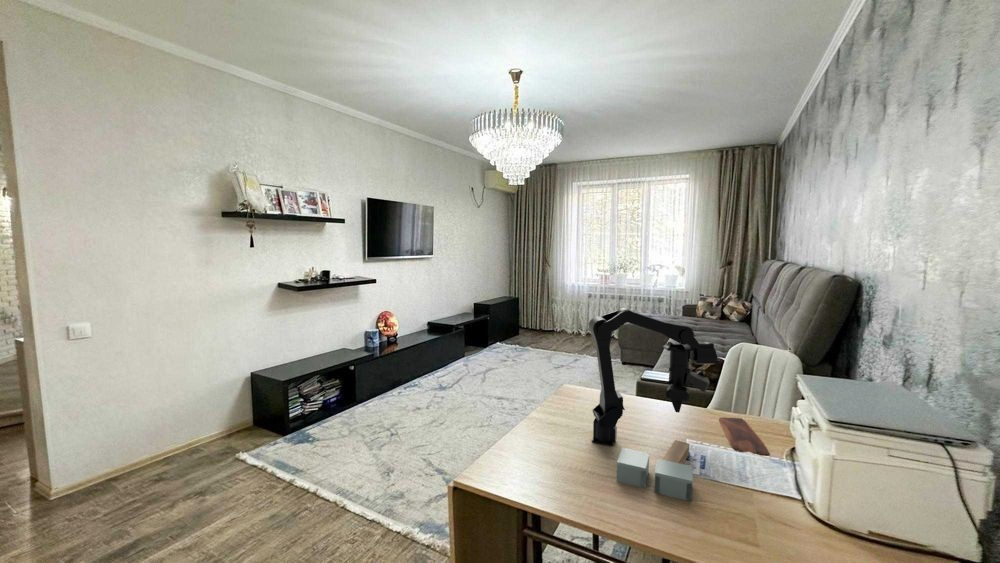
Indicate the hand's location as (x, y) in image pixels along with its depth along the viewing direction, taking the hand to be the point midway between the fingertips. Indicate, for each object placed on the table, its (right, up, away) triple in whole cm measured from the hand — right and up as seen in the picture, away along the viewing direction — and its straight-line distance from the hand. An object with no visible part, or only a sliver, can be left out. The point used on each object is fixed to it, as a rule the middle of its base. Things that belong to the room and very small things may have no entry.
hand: (677, 412), depth 126 cm
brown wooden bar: (-6, -11, -12) cm, 18 cm away
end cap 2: (-12, -12, -25) cm, 30 cm away
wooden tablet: (+23, -10, +5) cm, 26 cm away
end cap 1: (-20, -11, -19) cm, 30 cm away
